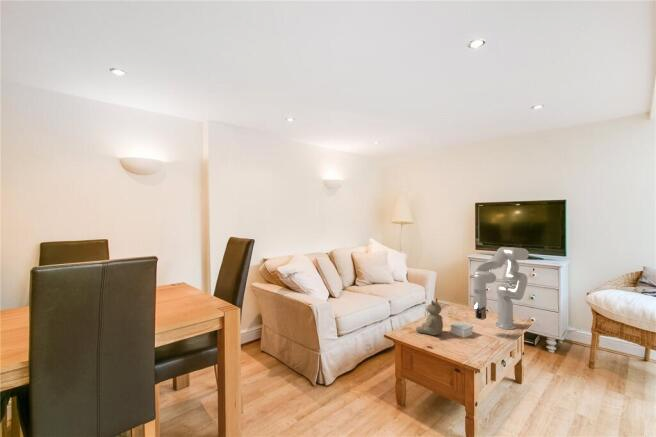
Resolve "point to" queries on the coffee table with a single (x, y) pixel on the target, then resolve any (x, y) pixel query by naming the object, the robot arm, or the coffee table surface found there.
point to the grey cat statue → (432, 320)
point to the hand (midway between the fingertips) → (480, 316)
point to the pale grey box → (461, 329)
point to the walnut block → (482, 313)
